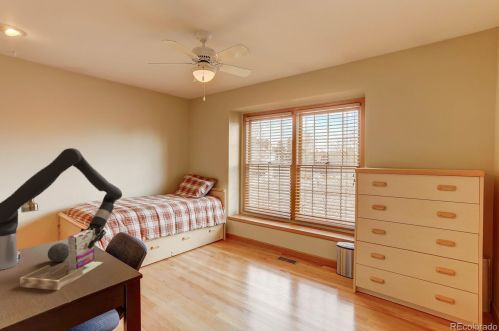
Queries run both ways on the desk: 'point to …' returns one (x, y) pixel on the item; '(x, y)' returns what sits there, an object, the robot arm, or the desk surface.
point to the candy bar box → (80, 249)
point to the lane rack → (49, 278)
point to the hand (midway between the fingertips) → (84, 247)
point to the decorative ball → (58, 252)
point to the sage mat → (88, 267)
